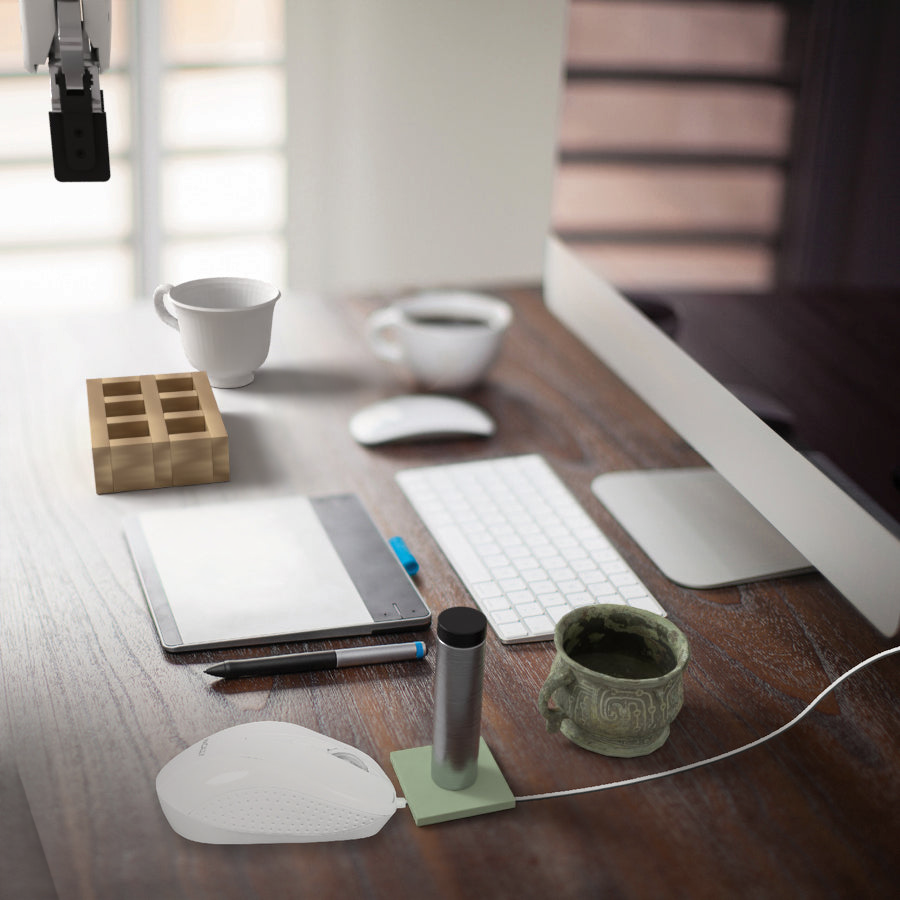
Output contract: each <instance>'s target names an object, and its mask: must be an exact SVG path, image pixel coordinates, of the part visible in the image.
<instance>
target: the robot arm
mask: <svg viewBox="0 0 900 900" xmlns="http://www.w3.org/2000/svg"><path fill="white" fill-rule="evenodd" d="M17 2H18V13H19V22H20V23H19V24H20V34H21V35H20V36H21V47H22V60H23V68H24V69H25V70H26V71H27V72H29V73H30V74H31V75H32V74H33V75H36V74H37V73H38V70H39V69H38V68H39V65H43V66H44V65H45V66H46V62H47V59H48V62H47V66H48V73H49V85H50V88H49V89H50V101H51V110H52V111H51V110H50V111H48V124H49V132H50V145H51V154H52V165H53V176H54V178H55V180H56V181H57V182H58V183H105V182H108V181H109V180H110V179H111V163H110V148H109V147H110V146H109V136H108V135H109V134H108V120H107V111H105V98H104V89H101V85H100V76H102V75H103V74H105V73H106V72H107V71H109V70H110V66H111V65H110V63H111V49H112V27H113V25H112V23H113V21H112V20H113V17H112V16H113V15H112V14H113V13H112V12H113V11H112V8H113V7H112V6H113V4H112V3H113V1H112V0H17Z"/></svg>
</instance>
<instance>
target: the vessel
mask: <svg viewBox="0 0 900 900" xmlns="http://www.w3.org/2000/svg"><path fill="white" fill-rule="evenodd" d="M553 642H554V646H555V649H556V651H557V652H556V653H555V656H554V658H553V660H552V662H551V666H550V672H549V673H548V675H547V677H546V679H545V680H544V682H543V684H542V686H541V688H540V690H539V693H538V697H537V698H538V699H537V707H538V708H537V709H538V710H539V714H540V715H541V717H542V718H545V722H546V724H545V727H544V728H545V731H546V732H547V733H548V734H550V735H552V734H557V733H559V732H561V733H562V734H563V735H564V736H565V737H566V738H567V739H568V740H570V741H571V742H573V744H575V745H577V746H579V747H581V748H583V749H585V750H587V751H590V752H593V753H596V754H600V755H602V756H605V757H617V758H624V759H625V758H627V759H630V758H635V757H642V756H648V755H650V754H651V753H653V752H655V751H656V750H658V749H660V748H661V747H663V745H664V744H665V742H666V741H667V739H668V737H669V736H670V734H671V725H670V724H672V723H673V722H674V720H676V718H677V716H678V715H679V713H680V711H681V709H682V707H683V704H684V699H685V698H684V695H685V692H684V676H683V675H684V674H685V672H686V670H687V669H688V667H689V664H690V662H691V657H692V644H691V643H690V640H689V639H688V635H686V634H685V633H684V632H682V631H681V630H680V629H679V627H678V626H676V625H675V623H673V622H672V621H671V620H669V619H668V618H665V617H664V616H662V615H660V614H658V613H656V612H653V611H650V610H648V609H643V608H639V607H634V606H631V605H628V604H627V605H626V604H617V603H606V602H605V603H598V604H597V603H596V604H589V605H584V606H580V607H577V608H574V609H572V610H571V611H568V613H565V614H564V615H563V616H562V617H561V618H560V619H559V621H558V622H557V623H556V625H555V627H554V636H553ZM550 699H552V702H553V704H554V705H555V707H552V708H550V707H549V701H550Z"/></svg>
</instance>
